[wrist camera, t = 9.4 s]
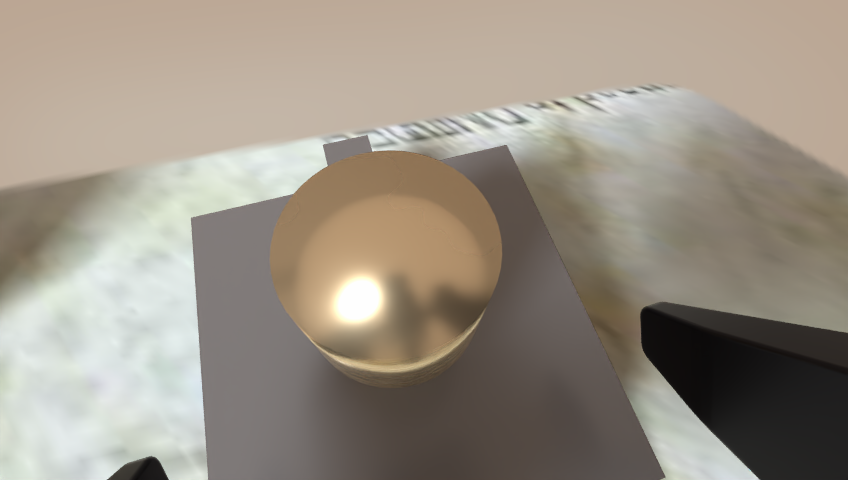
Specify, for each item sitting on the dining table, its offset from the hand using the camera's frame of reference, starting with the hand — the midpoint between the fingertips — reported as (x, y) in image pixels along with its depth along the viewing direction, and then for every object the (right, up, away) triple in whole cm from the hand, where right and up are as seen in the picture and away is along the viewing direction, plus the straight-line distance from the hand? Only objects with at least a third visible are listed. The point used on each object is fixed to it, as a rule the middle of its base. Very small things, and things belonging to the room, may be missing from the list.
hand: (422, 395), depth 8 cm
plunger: (-1, -2, +8) cm, 9 cm away
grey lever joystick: (-1, -1, +9) cm, 9 cm away
